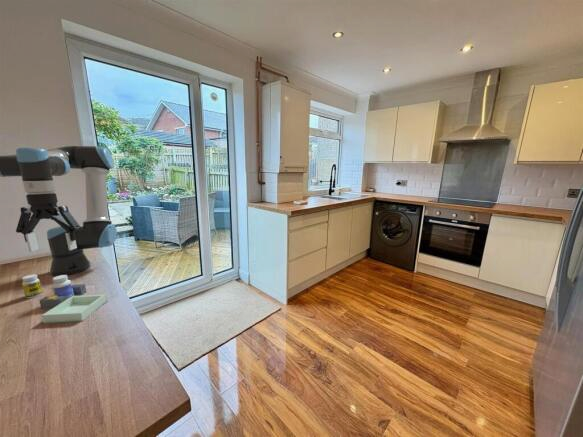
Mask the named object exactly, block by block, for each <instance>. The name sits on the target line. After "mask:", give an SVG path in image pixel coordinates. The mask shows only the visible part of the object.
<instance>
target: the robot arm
mask: <svg viewBox="0 0 583 437" xmlns="http://www.w3.org/2000/svg"><path fill="white" fill-rule="evenodd" d="M114 166H115V163H114V159H113V156H112V154H111V152H110V150H109V149H108V148H107V147H106V146H105V147H104V146H97V145H95V146H94V145H91V146H90V145H89V146H88V145H87V146H86V145H66V146H60V147H56V148H49V149H47V150H46V149H45V148H41V147H40V148H39V147H37V148H36V147H18V148H16V150H15V154H8V155H0V177H2V178H5V177H6V178H7V177H9V178H10V177H11V178H12V177H21V179H22V180H21V181H22V183H23V184H22V185H23V189H24V192H25V193H26V195H25V197H26V203H27V204H28V205H29V206H23V207H20V215H19V219H18V222H17V227H16V229H15V232H16V233H18V234H19V233H20V234H22V235H23V237H24V240H25V243H27V248H28V252H35V251H37V250H40V247H39V245H38V241H37V237H36V236H37V235H36V233H35V232H34V229H36V226H37V225H38V224H39V222H40V221H41V220H52V221H54V222H55V223H57V224H58V226H56V227H52V228H50V229H48V230H47V231H46V236H47V239H46V240H47V241H48V245H49V249H50V253H51V258H52V259H51V263H50V269H49V272H50V275H51V276H54V277H57V276H60V275H67V276H69V275H73V274H77V273H80V272H84V271H86V270H88V269H89V268H90V267H91V262H90V260H89V259H88V258H87V256H86V254H85V253H84V250H87V249H96V248H98V249H99V248H100V249H103V248H106V247H107V248H108V247H111V246H113V245H114V243H116V240H117V234H118V232H117V231H118V230H117V226H116V225H115V224H113V223H112V222H113V221H111V219H109V213H108V212H109V210H108V191H107V190H108V188H107V184H108V183H107V176H108V175H109V174H110V172H111V171H110V170H111V169H114ZM79 169H80V170H81V172H82V173H84V174H85V201H86V202H85V203H86V204H85V207H86V208H85V209H86V219H85V220H84V221H83V222H82V226H81V225H80V224H79V223H78V222H77V220H76V219H75V217H74V216H73V215H72V214H71V212H70V211H69V208H68V206H67V205H59V206H58V196H57V193H56V191H57V190H56V187H55V182H54V177H61V176H66V175H67V174H69V172H70V170H79Z"/></svg>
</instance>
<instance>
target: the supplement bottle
mask: <svg viewBox="0 0 583 437" xmlns="http://www.w3.org/2000/svg"><path fill="white" fill-rule="evenodd" d="M21 279H22V284H21V285H22V289H23V294H24V297H25V298H26V299H33V298H37V297H39V296H42V294H43V291H42V290H43V289H42V286H41V281H40V279H39V278H38V275H37V274H29V275H25V276H23V277H22V278H21Z"/></svg>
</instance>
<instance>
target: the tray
mask: <svg viewBox="0 0 583 437" xmlns="http://www.w3.org/2000/svg"><path fill="white" fill-rule="evenodd" d="M107 303H108V297H107V294H105V293H104V294H88V295H84V294H82V295H74V296H72V297H70V298H68V299H67V300H65V301H64V302H62V303H61V304H59V305H57V306H56V307H54V308H52V309H48V311H46V312H45V313H43V314H42V315H41V318H42V322H43V324H55V323H56V324H57V323H74V322H75V323H76V322H83V321H85V320H86V319H87V318H89V317H90V316H91V315H92V314H94V313H96V311H98V310H99V309H100V308H101V307H103V305H105V304H107Z"/></svg>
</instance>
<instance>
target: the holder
mask: <svg viewBox="0 0 583 437" xmlns="http://www.w3.org/2000/svg"><path fill="white" fill-rule="evenodd" d="M72 288H73V292H74V296H83V295H84V294H85V293H87V289H86V284H85V283H82V284H81V283H80V284H72ZM65 300H66V296H58V295H50V296H45V297H43V298H41V299H39V305H40V309H41V310H51V309H53V308H54V307H56V306H57V305H59V304H61V303H62V302H64V301H65Z"/></svg>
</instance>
